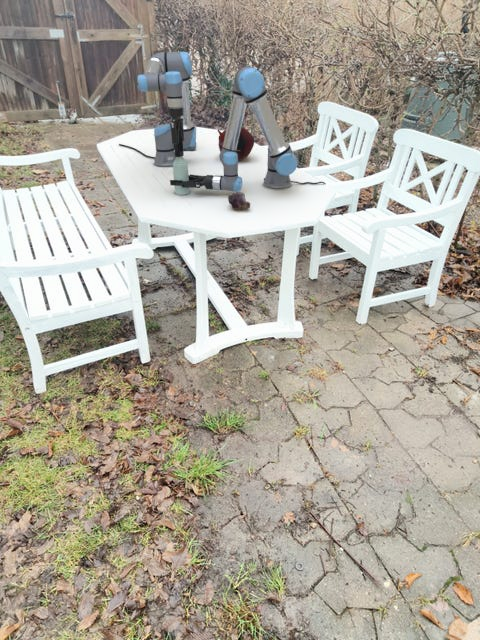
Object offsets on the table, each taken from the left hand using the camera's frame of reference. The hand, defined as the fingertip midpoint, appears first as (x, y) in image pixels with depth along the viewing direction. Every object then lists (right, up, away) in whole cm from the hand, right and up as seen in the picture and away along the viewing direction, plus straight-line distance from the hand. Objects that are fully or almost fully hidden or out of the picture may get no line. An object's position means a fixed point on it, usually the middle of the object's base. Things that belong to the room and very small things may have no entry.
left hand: (179, 155), depth 236 cm
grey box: (-9, +38, +91) cm, 99 cm away
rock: (+31, -31, -10) cm, 45 cm away
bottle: (0, -16, +11) cm, 20 cm away
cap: (0, +1, -1) cm, 2 cm away
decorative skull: (+29, +22, +66) cm, 76 cm away
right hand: (-5, -10, +8) cm, 14 cm away
